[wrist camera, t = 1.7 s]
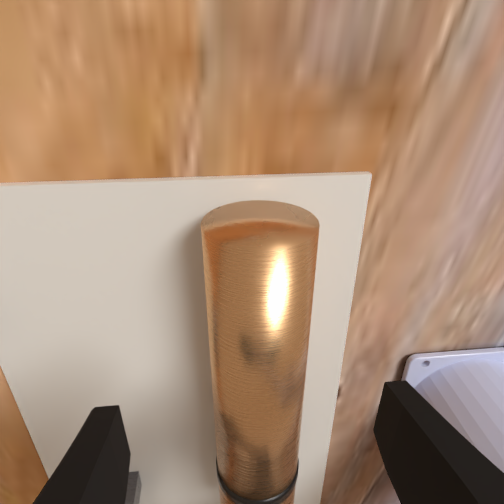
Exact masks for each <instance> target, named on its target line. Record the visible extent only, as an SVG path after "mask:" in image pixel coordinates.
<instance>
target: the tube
mask: <svg viewBox="0 0 504 504" xmlns="http://www.w3.org/2000/svg"><path fill="white" fill-rule="evenodd" d="M319 227H320V225H319V221H318V219H317V218H316V216H315V215H313V214H312V213H311V212H309V211H308V210H306V209H304V208H301V207H299V206H296V205H293V204H289V203H284V202H278V201H268V200H251V201H240V202H234V203H230V204H226V205H223V206H220V207H217V208H215V209H213V210H211V211H210V212H208V213H207V214H206V215H205V216H204V217H203V219H202V221H201V235H202V250H203V264H204V278H205V293H206V307H207V321H208V336H209V350H210V365H211V379H212V393H213V408H214V422H215V436H216V451H217V456H216V469H217V478H218V482H219V494H220V504H294V497H295V486H296V482H297V477H298V467H299V459H298V454H299V443H300V432H301V421H302V411H303V400H304V389H305V378H306V367H307V357H308V346H309V335H310V324H311V314H312V303H313V292H314V281H315V270H316V260H317V249H318V238H319Z"/></svg>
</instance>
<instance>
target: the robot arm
mask: <svg viewBox="0 0 504 504" xmlns="http://www.w3.org/2000/svg"><path fill="white" fill-rule="evenodd" d="M373 431H374V434H375V437H376V440H377V444H378V447H379V450H380V453H381V456H382V459H383V462H384V465H385V468H386V471H387V473H388V475H389V478H390V480H391V482H392V484H393V487H394V489H395V491H396V494H397V496H398V498H399V500H400V503H401V504H504V347H499V348H486V349H473V350H460V351H447V352H435V353H422V354H413V355H411V356H410V357H409V358H408V359H407V361H406V365H405V369H404V372H403V376H402V380H401V381H392V382H385V383H384V388H383V392H382V396H381V400H380V404H379V409H378V413H377V417H376V421H375V425H374V430H373ZM130 457H131V453H130V449H129V444H128V440H127V436H126V432H125V428H124V424H123V420H122V415H121V411H120V407H119V405H113V406H101V407H94V408H93V409H92V410H91V412H90V414H89V415H88V417H87V419H86V421H85V422H84V424H83V426H82V427H81V429H80V431H79V433H78V434H77V436H76V438H75V439H74V441H73V442H72V444H71V446H70V447H69V449H68V451H67V452H66V454H65V455H64V457H63V459H62V460H61V462H60V463H59V465H58V466H57V468H56V469H55V471H54V472H53V474H52V475H51V477H50V478H49V480H48V481H47V483H46V485H45V486H44V488H43V489H42V491H41V492H40V494H39V495H38V497H37V498H36V499H35V501H34V502H33V504H125V499H126V493H127V485H128V476H129V466H130Z"/></svg>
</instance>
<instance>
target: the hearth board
mask: <svg viewBox="0 0 504 504" xmlns="http://www.w3.org/2000/svg"><path fill="white" fill-rule="evenodd" d="M371 177H372V174H371V173H370V172H369V171H367V172H335V173H303V174H270V175H238V176H206V177H173V178H141V179H108V180H76V181H44V182H11V183H0V366H1V368H2V370H3V373H4V375H5V377H6V380H7V382H8V384H9V387H10V389H11V391H12V394H13V396H14V398H15V401H16V403H17V405H18V408H19V410H20V412H21V415H22V417H23V419H24V422H25V424H26V427H27V429H28V431H29V434H30V436H31V438H32V441H33V443H34V445H35V448H36V450H37V452H38V455H39V457H40V459H41V462H42V464H43V466H44V469H45V471H46V473H47V476H48V478H50V477H51V475H52V474H53V472H54V471H55V469H56V468H57V466H58V465H59V463H60V462H61V460H62V459H63V457H64V455H65V454H66V452H67V451H68V449H69V447H70V446H71V444H72V442H73V441H74V439H75V438H76V436H77V434H78V433H79V431H80V429H81V427H82V426H83V424H84V422H85V421H86V419H87V417H88V415H89V414H90V412H91V410H92V409H93V408H94V407H101V406H113V405H119V407H120V411H121V415H122V420H123V424H124V428H125V432H126V436H127V440H128V444H129V449H130V453H131V457H130V466H129V472H135V471H139V475H140V479H141V483H142V487H141V494H140V501H139V504H220V494H219V482H218V478H217V469H216V456H217V451H216V436H215V422H214V408H213V393H212V379H211V365H210V350H209V336H208V321H207V307H206V293H205V278H204V264H203V250H202V235H201V221H202V219H203V217H204V216H205V215H206V214H207V213H208V212H210V211H211V210H213V209H215V208H217V207H220V206H223V205H226V204H230V203H234V202H240V201H251V200H268V201H278V202H284V203H289V204H293V205H296V206H299V207H301V208H304V209H306V210H308V211H309V212H311V213H312V214H313V215H315V216H316V218H317V219H318V221H319V225H320V227H319V238H318V249H317V260H316V270H315V281H314V292H313V303H312V314H311V324H310V335H309V346H308V357H307V367H306V378H305V389H304V400H303V411H302V421H301V432H300V443H299V454H298V459H299V467H298V477H297V482H296V486H295V497H294V504H320V501H321V495H322V488H323V482H324V476H325V469H326V463H327V457H328V450H329V444H330V438H331V431H332V425H333V418H334V412H335V406H336V399H337V393H338V387H339V380H340V374H341V368H342V361H343V355H344V349H345V342H346V336H347V330H348V323H349V317H350V310H351V304H352V298H353V291H354V285H355V279H356V272H357V266H358V260H359V253H360V247H361V241H362V234H363V228H364V221H365V215H366V209H367V202H368V196H369V190H370V183H371Z"/></svg>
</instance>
